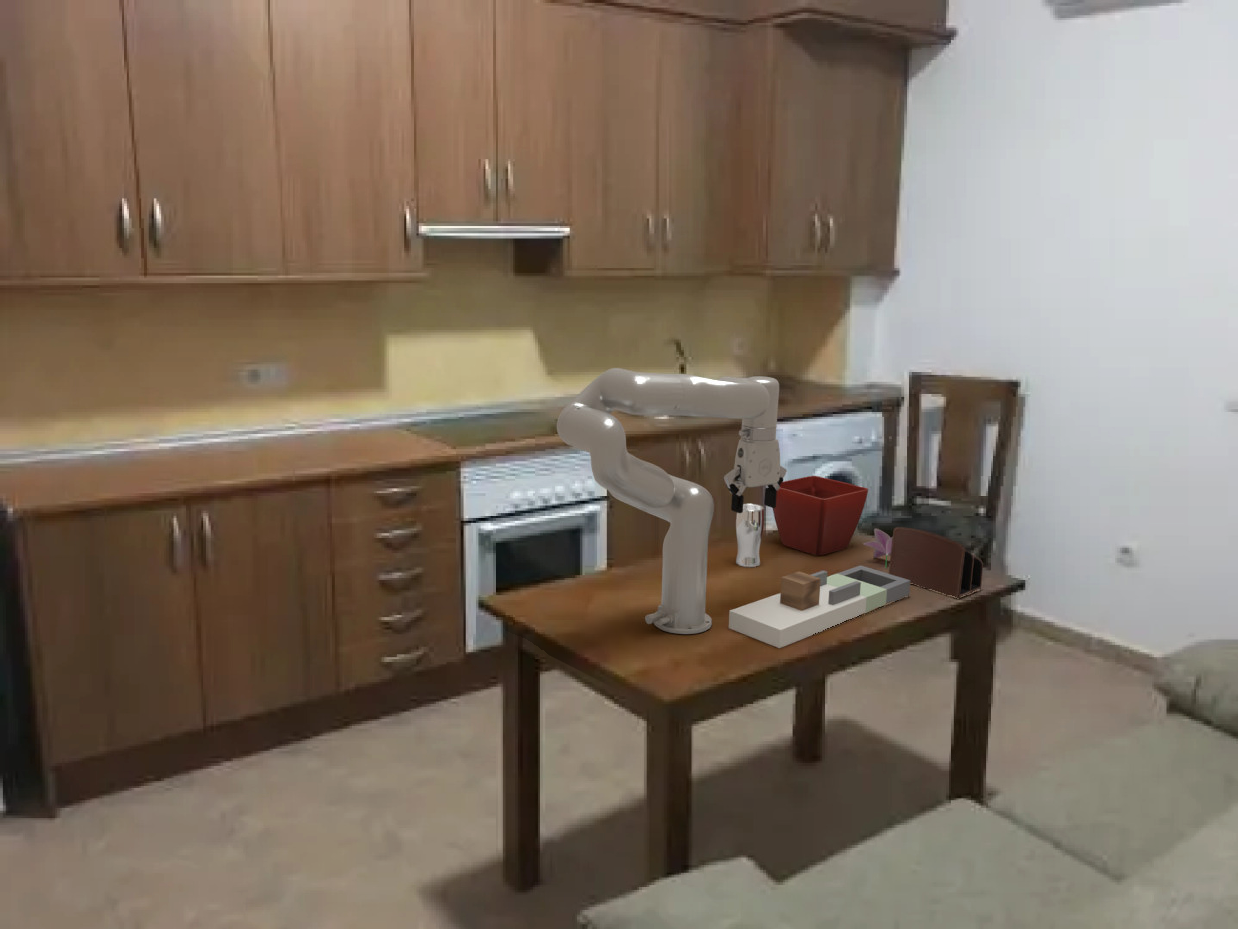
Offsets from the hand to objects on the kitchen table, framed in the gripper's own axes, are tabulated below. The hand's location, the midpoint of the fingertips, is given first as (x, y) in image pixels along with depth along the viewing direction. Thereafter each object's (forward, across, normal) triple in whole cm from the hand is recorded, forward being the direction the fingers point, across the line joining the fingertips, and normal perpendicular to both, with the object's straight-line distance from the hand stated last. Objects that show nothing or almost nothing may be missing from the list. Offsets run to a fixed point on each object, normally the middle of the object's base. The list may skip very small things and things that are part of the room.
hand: (753, 509), depth 233 cm
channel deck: (+23, +13, -11) cm, 28 cm away
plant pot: (+22, +46, +25) cm, 56 cm away
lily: (+22, +52, +5) cm, 56 cm away
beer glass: (+23, +20, +23) cm, 39 cm away
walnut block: (+19, +4, -12) cm, 23 cm away
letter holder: (+22, +50, -12) cm, 56 cm away
